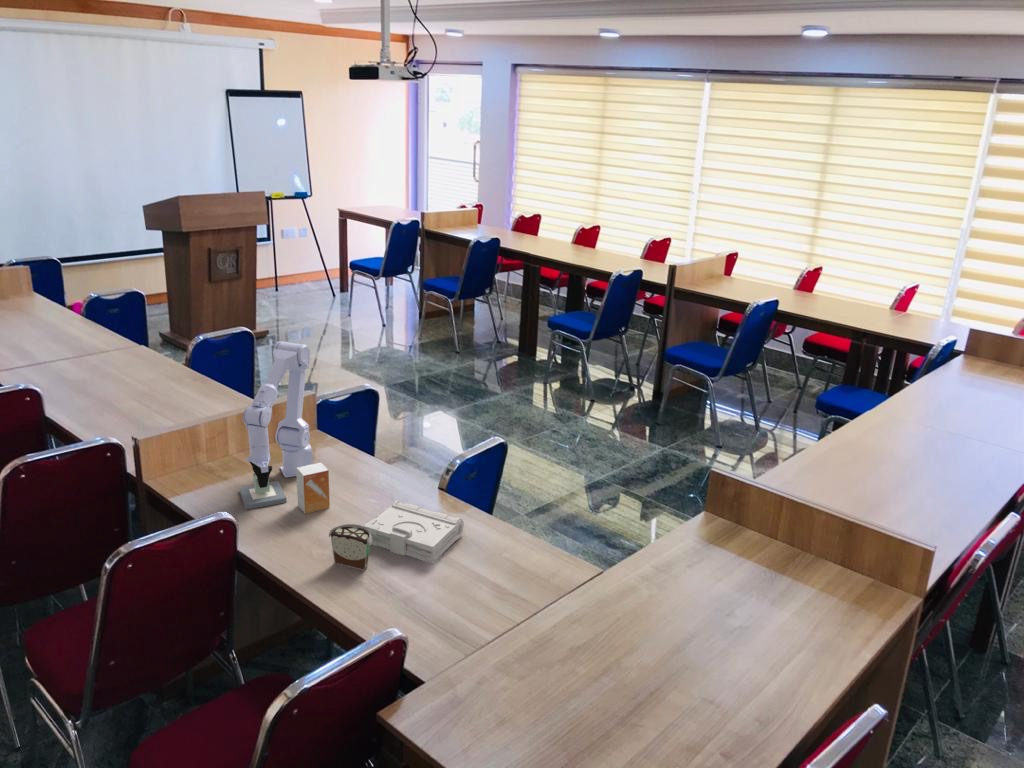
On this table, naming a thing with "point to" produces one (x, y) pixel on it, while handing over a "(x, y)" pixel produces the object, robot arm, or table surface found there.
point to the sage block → (257, 487)
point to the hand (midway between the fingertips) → (261, 483)
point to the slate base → (262, 496)
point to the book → (415, 531)
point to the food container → (351, 545)
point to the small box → (313, 487)
